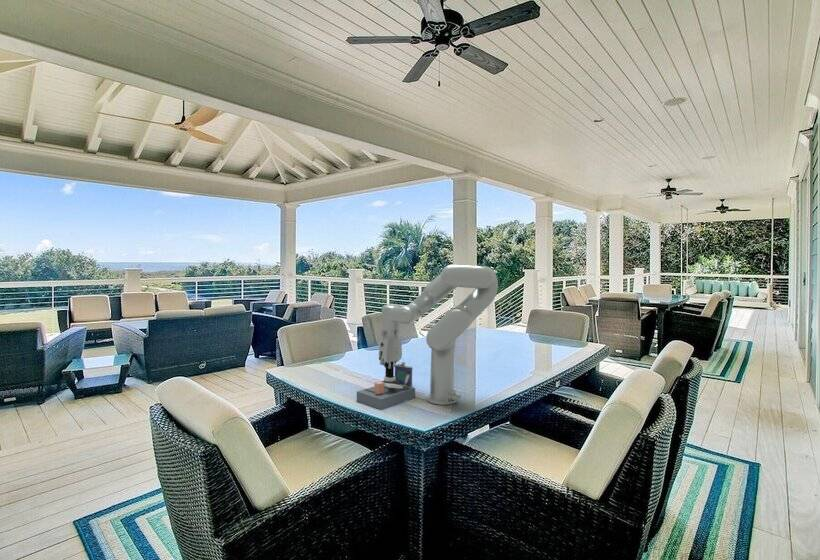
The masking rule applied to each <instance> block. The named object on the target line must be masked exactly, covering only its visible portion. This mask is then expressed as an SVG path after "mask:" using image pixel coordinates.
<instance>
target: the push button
mask: <svg viewBox="0 0 820 560" xmlns="http://www.w3.org/2000/svg"><path fill="white" fill-rule="evenodd" d="M383 381H386V382H387V383H392V382H394V381H396V377H395V375H394V377H392V378H389V377H386V375H385V376H383Z"/></svg>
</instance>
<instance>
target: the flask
mask: <svg viewBox="0 0 820 560" xmlns="http://www.w3.org/2000/svg"><path fill="white" fill-rule="evenodd" d="M408 369H411V371H412V373H411V374H410V375H409V378H408V382H407V385H406V386H409V387H413V366H410V365H406V362H405V361H402V362H400V363H396V364H395V367H394V376H395V377H396V381H399V384H402V385H404V382H405V378H406V375H407V372H406V371H407V370H408Z"/></svg>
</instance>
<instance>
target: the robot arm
mask: <svg viewBox="0 0 820 560" xmlns="http://www.w3.org/2000/svg"><path fill="white" fill-rule="evenodd" d="M498 281H499V280H498V277H497V274H496V272H495V270H494V269H493V268H492V267H490V266H487V265H464V264H463V265H462V264H461V265H460V264H455V263H453V264H452V263H451V264H448V265H446V266H445V267H444V268H443V269H442V270H441V273H440V274H439V275H437V276H436V277H434V278H433V279H432V280H431V281H430V282H429V283H427V284H426V285H425V287H424V289H423V291H422V292H421V294H419V295H418V296H417V297H416V298H415V299H413V300H412V301H411V302H409V304H406V305H402V306H399V305H397V304H384V305H382V307H381V333H380V340H379V346H378V360H379V365H381V366H384V368H385V376H386V377H389V378H392V377H394V376H395V365H396V364H398V362H400V360H401V359H402V358H403V345H402V339H401V337H400V324H404V325H409V324H412V323H414V322H415V321H417V320H420V318H422V316H424V315H425V314H427V312H428V311H429V310H430V311H431V309H432V308H433V307H434V306H436V305H437V304H439V303H440V302H441V301H442V300H443V299H445V298H446V297H447V296H448V295H449V294H451V293H452V292H453V291H454V290H456V289H457V288H464V289H465V288H466V289H467V288H468V289H473V290H472V292H471V293H469V294H468V295H467V296H466V297H465V298H464V299H463V300H462V301H461V302H460V303H459V304H458V305H455V306H454V307H453V308H451V309H449V311H448V312H446V313H445V314H444V315H443V316H442V317H441V318H440V319H439V320H438V321H437V322H436V323H435V324H434V325H433V326H432V327H431V328H429V330H428V331H427V332H426V333H427V334H426V337H425V339H426V345H428V347H429V348H430V384H429V385H430V387H429V388H430V390H429V394H427V395H426V401H427V402H428V403H430V404H434V405H439V406H449V405H453V404H456V403H457V402H460V401H461V398H462V396H461V394H457V392H456V391H457V390H456V389H454V387H455V386H454V384H455V383H454V382H455V380H454V379H455V377H454V376H455V351H456V341H457V339H458V338H459V337H460V336H461V335H462V334H463V333H464V332H465V331H466V330H468V328H470V326H471V325H472V324H473V322H474V321H475V320H476V319H477V318H478V317H479V316H480V315H481V314H483V312H485V310H486V309H487V308H488V307H489V306H490V305H491V304H492V302H493V301H494V300H495V298H496V296H497V293H498V289H499V282H498Z"/></svg>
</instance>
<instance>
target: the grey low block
mask: <svg viewBox="0 0 820 560" xmlns="http://www.w3.org/2000/svg"><path fill="white" fill-rule="evenodd" d="M380 382H384V383H387V382H386V381H384V380H381V381H380ZM389 384H397V385H401V386H403V389H402V388H390V387H386V386H384V393H382V394H376V393H375V385H374V386H371V387H368V388H365V389H364V388H363V389H360V390H356V402H357V403H360V404H363V405H366V406H369V407H372V408H375V409H378V410H381V411H382V410H384V409H387V408H390V407H393V406H396V405H398V404H402V403H405V402H407V401H410V400H412V399H415V398H416V387H413V386H411V387H409V386H406V387H404V385H402V384H399V381H394V382H392V383H389Z"/></svg>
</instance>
